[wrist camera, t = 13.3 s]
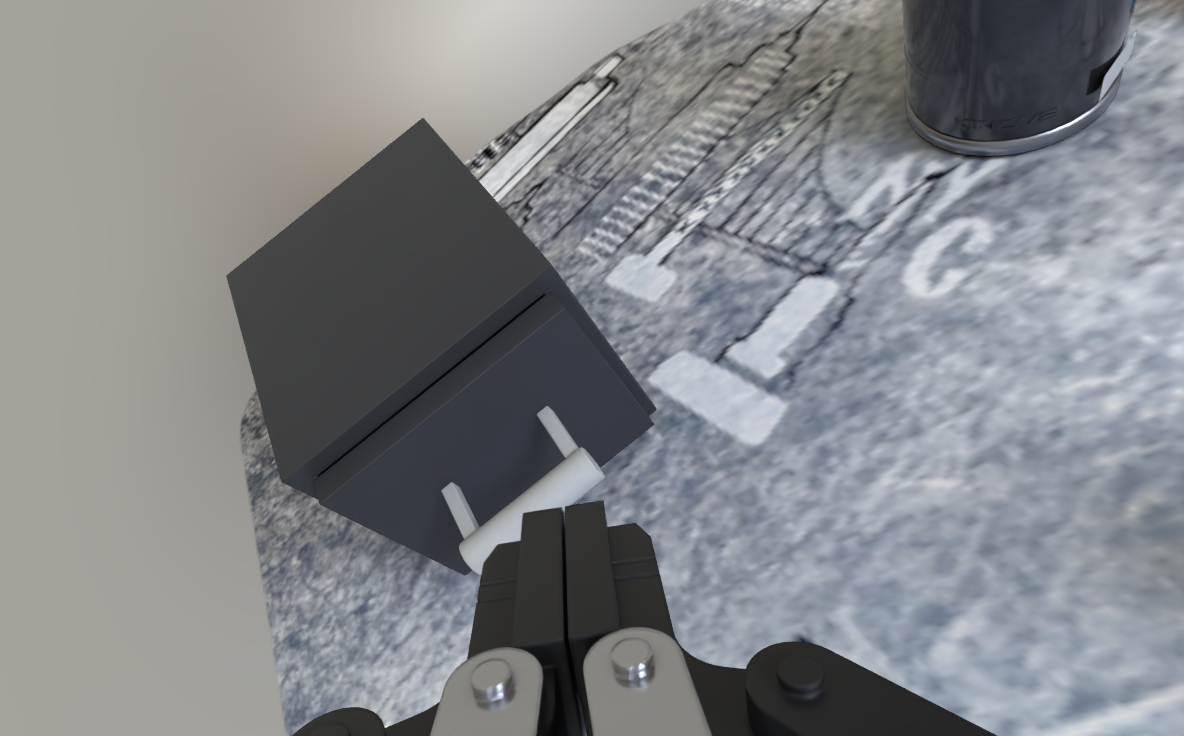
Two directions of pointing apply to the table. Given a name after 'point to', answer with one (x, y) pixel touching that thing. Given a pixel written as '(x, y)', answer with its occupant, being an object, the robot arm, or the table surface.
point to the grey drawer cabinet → (384, 300)
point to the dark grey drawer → (490, 442)
